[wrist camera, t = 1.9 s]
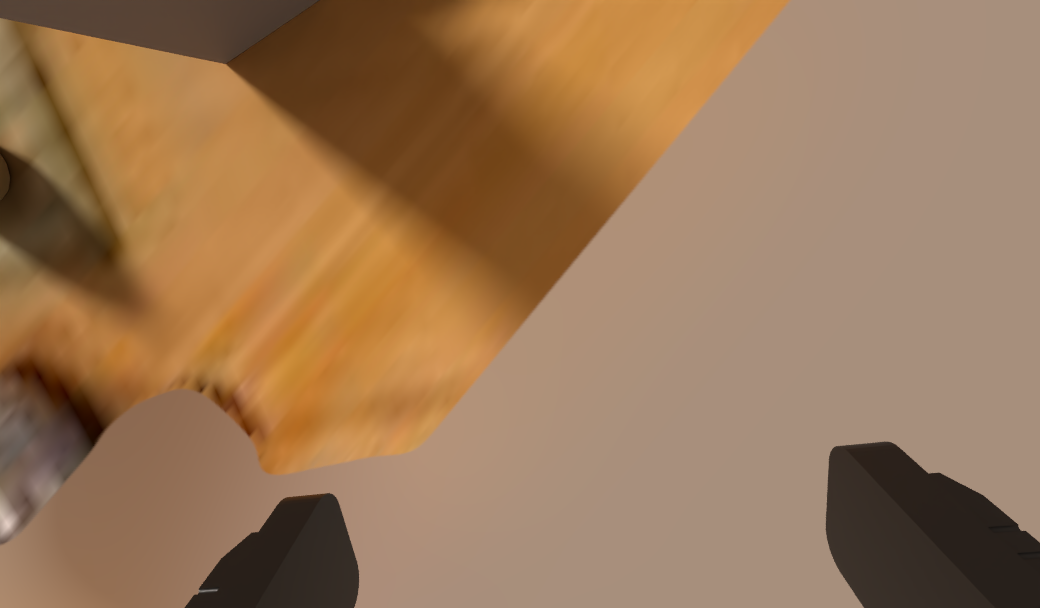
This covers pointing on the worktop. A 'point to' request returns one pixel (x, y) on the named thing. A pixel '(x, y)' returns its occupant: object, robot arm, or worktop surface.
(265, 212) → the worktop surface
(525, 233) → the worktop surface
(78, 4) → the stand
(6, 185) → the squeeze bottle
